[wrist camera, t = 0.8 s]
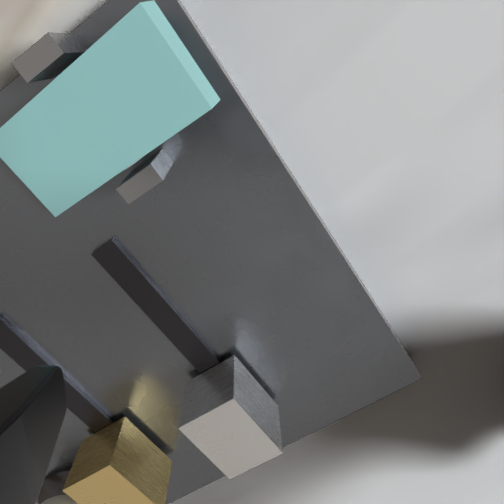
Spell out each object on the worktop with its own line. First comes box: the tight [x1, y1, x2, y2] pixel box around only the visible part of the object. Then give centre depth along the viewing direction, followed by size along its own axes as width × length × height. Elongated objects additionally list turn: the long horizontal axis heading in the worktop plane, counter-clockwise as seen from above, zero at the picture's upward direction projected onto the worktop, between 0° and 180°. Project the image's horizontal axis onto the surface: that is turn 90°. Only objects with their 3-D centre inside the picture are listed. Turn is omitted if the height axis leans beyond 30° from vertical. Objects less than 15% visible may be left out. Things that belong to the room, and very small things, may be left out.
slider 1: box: [62, 417, 172, 504], centre depth 23 cm, size 4×3×3 cm
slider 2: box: [178, 355, 283, 479], centre depth 22 cm, size 4×3×3 cm
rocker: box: [0, 0, 220, 217], centre depth 16 cm, size 4×8×1 cm, turn 124°
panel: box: [0, 0, 422, 504], centre depth 21 cm, size 22×23×4 cm
